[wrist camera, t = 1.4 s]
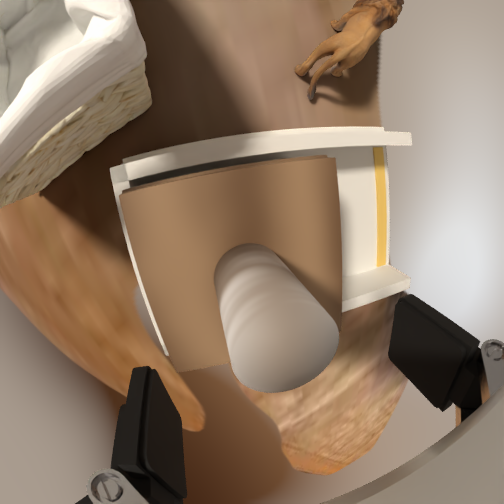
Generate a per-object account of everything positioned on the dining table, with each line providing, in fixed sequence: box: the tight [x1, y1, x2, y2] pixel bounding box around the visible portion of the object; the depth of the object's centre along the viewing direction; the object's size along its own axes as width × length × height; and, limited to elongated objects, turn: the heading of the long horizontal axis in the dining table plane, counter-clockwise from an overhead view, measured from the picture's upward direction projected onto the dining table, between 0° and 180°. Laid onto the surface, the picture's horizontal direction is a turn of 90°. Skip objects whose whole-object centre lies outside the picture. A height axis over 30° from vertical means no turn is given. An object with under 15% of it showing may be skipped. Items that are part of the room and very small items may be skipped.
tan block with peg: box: [119, 155, 342, 393], centre depth 16 cm, size 12×12×15 cm
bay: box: [110, 127, 412, 356], centre depth 23 cm, size 25×17×5 cm
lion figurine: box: [295, 0, 404, 100], centre depth 16 cm, size 15×5×9 cm, turn 156°
